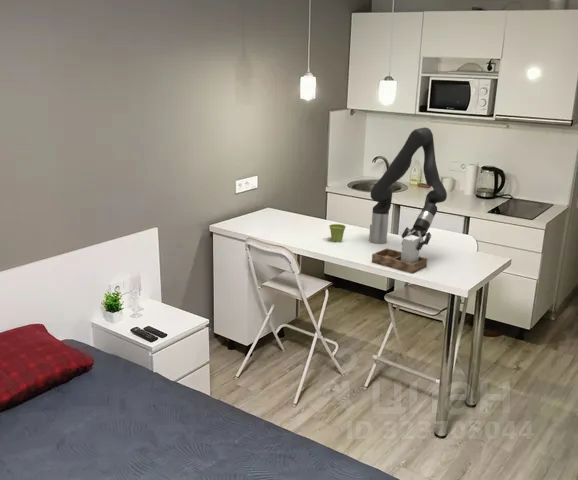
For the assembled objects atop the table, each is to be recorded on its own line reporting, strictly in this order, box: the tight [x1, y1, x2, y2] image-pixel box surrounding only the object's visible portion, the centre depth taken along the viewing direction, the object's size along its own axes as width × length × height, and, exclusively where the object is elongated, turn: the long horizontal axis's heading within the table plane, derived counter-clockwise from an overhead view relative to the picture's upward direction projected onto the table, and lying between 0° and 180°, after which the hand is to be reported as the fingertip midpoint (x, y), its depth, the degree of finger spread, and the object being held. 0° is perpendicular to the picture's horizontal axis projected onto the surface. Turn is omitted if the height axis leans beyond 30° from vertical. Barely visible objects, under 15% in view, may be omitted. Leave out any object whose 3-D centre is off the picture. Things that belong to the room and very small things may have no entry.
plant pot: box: [328, 223, 346, 243], centre depth 350 cm, size 9×9×9 cm
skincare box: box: [401, 235, 420, 264], centre depth 308 cm, size 8×6×15 cm
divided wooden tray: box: [371, 247, 428, 274], centre depth 313 cm, size 24×14×4 cm, turn 49°
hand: (410, 247), depth 307 cm, fingers open, 8 cm apart
